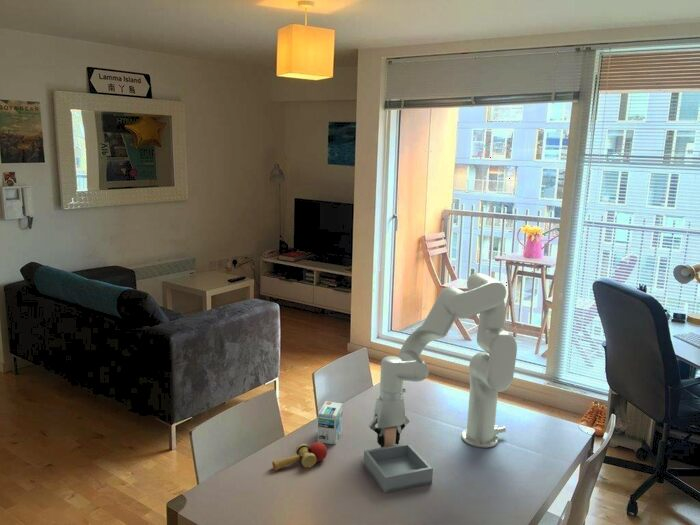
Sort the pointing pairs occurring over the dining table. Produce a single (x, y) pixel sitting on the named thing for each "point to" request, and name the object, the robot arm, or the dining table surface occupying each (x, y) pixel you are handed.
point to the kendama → (304, 456)
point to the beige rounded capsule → (389, 436)
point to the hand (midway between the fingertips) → (388, 443)
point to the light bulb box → (330, 422)
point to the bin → (397, 467)
